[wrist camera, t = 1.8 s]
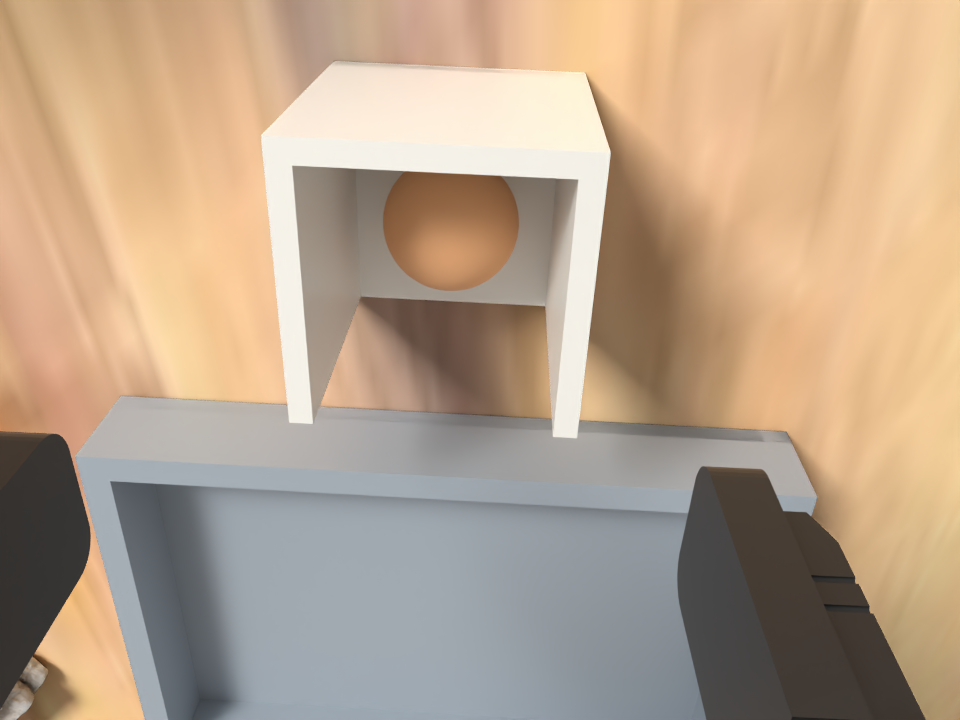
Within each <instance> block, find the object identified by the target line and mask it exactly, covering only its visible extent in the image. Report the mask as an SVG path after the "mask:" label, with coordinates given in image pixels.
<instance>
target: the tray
mask: <svg viewBox="0 0 960 720" xmlns="http://www.w3.org/2000/svg"><path fill="white" fill-rule="evenodd" d="M75 458H76V462H77V466H78V469H79V473H80V477H81V481H82V484H83V488H84V492H85V496H86V499H87V503H88V507H89V511H90V515H91V518H92V522H93V526H94V530H95V533H96V537H97V541H98V545H99V548H100V552H101V556H102V560H103V563H104V567H105V571H106V575H107V578H108V582H109V586H110V590H111V593H112V597H113V601H114V605H115V608H116V612H117V616H118V620H119V623H120V627H121V631H122V635H123V638H124V642H125V646H126V650H127V654H128V657H129V661H130V665H131V669H132V672H133V676H134V680H135V684H136V687H137V691H138V695H139V699H140V702H141V706H142V710H143V714H144V717H145V720H706V716H705V712H704V708H703V703H702V699H701V695H700V691H699V686H698V682H697V678H696V674H695V669H694V665H693V661H692V657H691V652H690V648H689V644H688V640H687V635H686V631H685V627H684V623H683V618H682V614H681V610H680V605H679V599H678V587H677V570H678V559H679V553H680V549H681V544H682V539H683V535H684V530H685V525H686V521H687V516H688V511H689V507H690V502H691V498H692V493H693V488H694V484H695V479H696V476H697V473H698V471H699V469H700V468H701V467H703V466H709V467H730V468H751V469H762V470H764V471H765V472H766V473H767V475H768V477H769V479H770V482H771V484H772V486H773V489H774V491H775V493H776V495H777V498H778V500H779V502H780V505H781V507H782V509H783V511H792V512H807V513H808V514H809V515H810V516H812V513H813V510H814V507H815V504H816V500H817V495H816V493H815V491H814V489H813V487H812V485H811V482H810V480H809V478H808V476H807V474H806V472H805V470H804V468H803V466H802V464H801V461H800V459H799V457H798V455H797V453H796V451H795V449H794V447H793V445H792V443H791V440H790V438H789V436H788V434H787V432H783V431H765V430H746V429H727V428H709V427H690V426H671V425H653V424H634V423H616V422H597V421H579V426H578V434H577V438H562V437H553V430H552V419H541V418H522V417H504V416H485V415H467V414H448V413H429V412H411V411H392V410H374V409H355V408H336V407H319V409H318V412H317V415H316V417H315V420H314V423H313V424H304V423H289V416H288V406H287V405H280V404H262V403H243V402H225V401H206V400H187V399H169V398H150V397H132V396H121V397H120V398H119V399H118V401H117V402H116V403H115V404H114V406H113V407H112V408H111V410H110V411H109V412H108V414H107V415H106V416H105V418H104V419H103V420H102V422H101V423H100V424H99V425H98V427H97V428H96V429H95V431H94V432H93V433H92V435H91V436H90V437H89V439H88V440H87V441H86V443H85V444H84V445H83V447H82V448H81V449H80V450H79V452H78V453H77V454H76V456H75Z"/></svg>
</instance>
